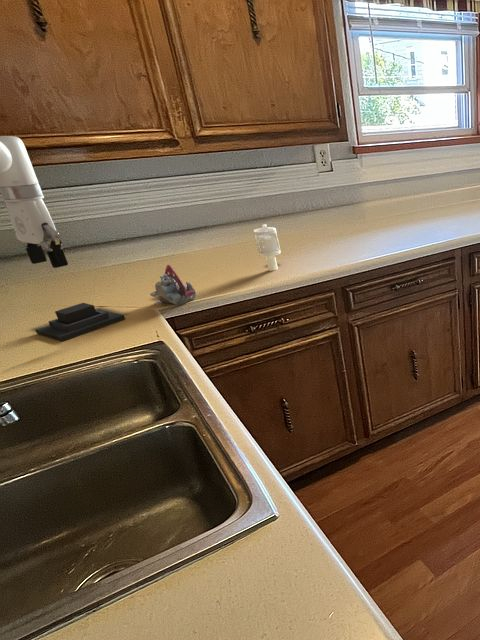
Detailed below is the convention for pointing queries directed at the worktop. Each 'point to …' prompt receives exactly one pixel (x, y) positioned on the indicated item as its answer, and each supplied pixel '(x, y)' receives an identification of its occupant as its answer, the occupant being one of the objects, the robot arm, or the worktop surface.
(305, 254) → the worktop surface
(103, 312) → the base pad
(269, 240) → the white tall piece
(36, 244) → the robot arm
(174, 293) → the grey creature figurine
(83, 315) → the top pad
